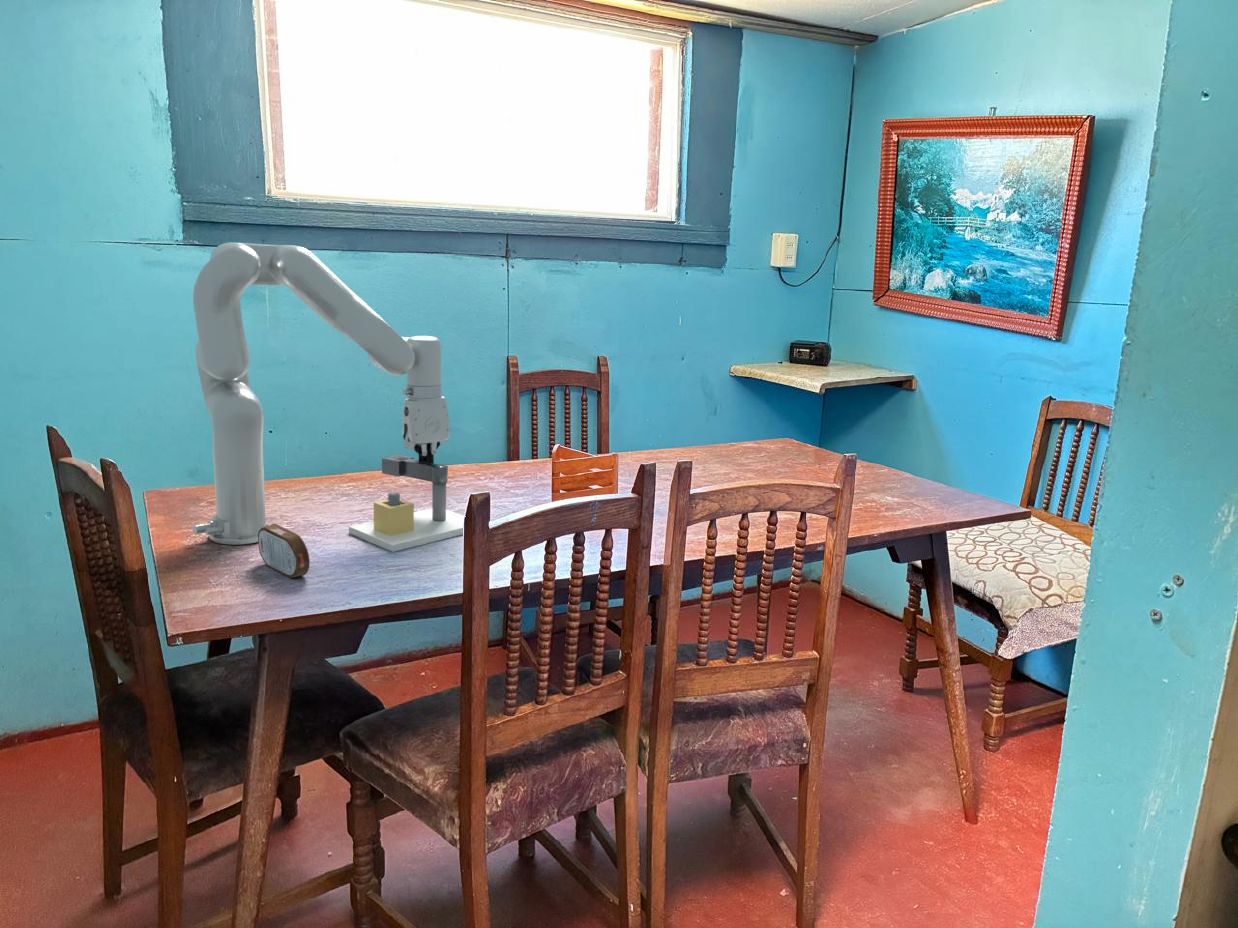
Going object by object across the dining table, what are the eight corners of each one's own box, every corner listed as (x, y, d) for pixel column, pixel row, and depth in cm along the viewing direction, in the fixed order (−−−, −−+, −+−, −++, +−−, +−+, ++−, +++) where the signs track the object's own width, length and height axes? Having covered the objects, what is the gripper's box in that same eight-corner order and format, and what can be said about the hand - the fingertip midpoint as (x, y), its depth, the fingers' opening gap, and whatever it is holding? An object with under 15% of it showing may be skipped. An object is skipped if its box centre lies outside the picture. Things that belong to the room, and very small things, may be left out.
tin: (311, 580, 175) (310, 537, 173) (296, 584, 173) (294, 541, 171) (270, 559, 185) (269, 518, 183) (255, 562, 183) (253, 521, 181)
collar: (413, 530, 202) (413, 503, 200) (390, 535, 198) (389, 508, 196) (397, 523, 206) (397, 497, 204) (373, 529, 201) (373, 502, 200)
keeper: (452, 480, 210) (453, 465, 209) (438, 485, 205) (438, 469, 204) (397, 469, 217) (396, 454, 216) (381, 473, 213) (381, 458, 212)
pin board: (392, 551, 192) (392, 505, 190) (348, 532, 203) (348, 488, 200) (482, 529, 210) (483, 486, 208) (438, 512, 220) (438, 471, 218)
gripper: (404, 398, 202) (407, 480, 207) (461, 390, 212) (463, 469, 217) (386, 393, 207) (389, 473, 212) (443, 386, 217) (444, 462, 222)
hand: (426, 470), depth 214 cm, fingers closed
